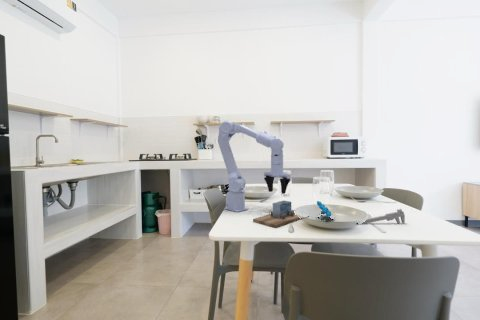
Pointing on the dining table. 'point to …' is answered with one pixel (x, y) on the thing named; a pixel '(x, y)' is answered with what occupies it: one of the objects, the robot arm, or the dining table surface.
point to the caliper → (389, 217)
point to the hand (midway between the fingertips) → (276, 192)
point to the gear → (324, 209)
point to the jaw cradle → (276, 220)
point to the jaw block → (281, 209)
